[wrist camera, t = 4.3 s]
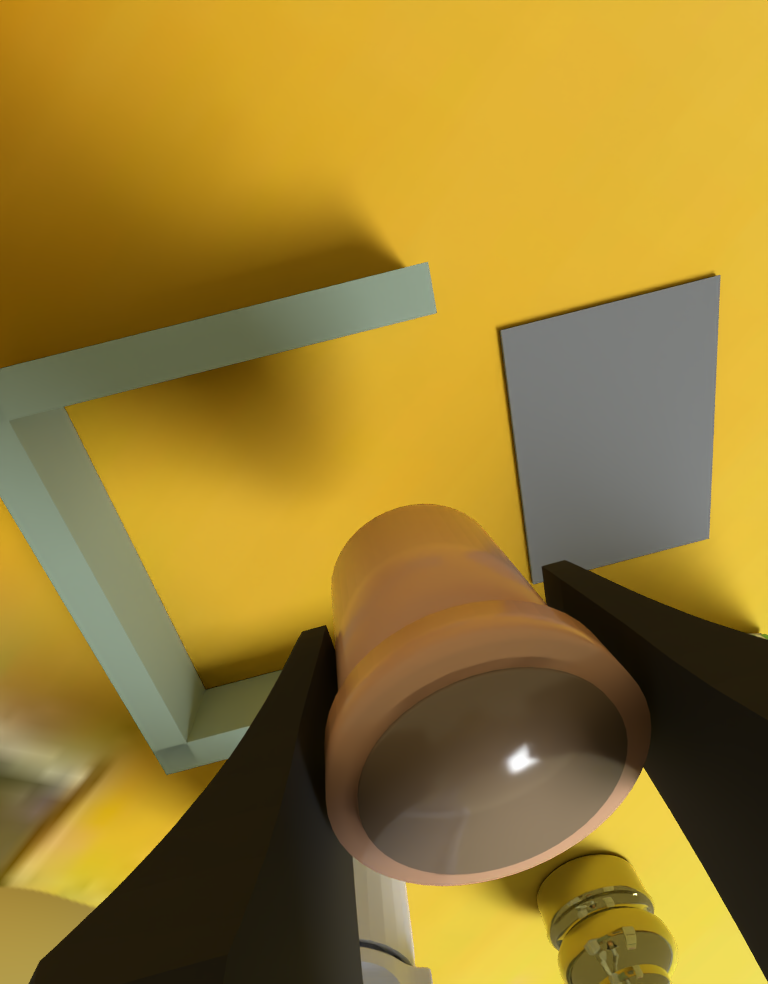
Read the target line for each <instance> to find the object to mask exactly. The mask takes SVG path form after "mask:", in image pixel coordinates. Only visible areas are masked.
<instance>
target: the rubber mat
mask: <svg viewBox="0 0 768 984" xmlns="http://www.w3.org/2000/svg"><path fill="white" fill-rule="evenodd" d="M719 295H720V275H718V276H713V277H710V278H706V279H702V280H698V281H694V282H690V283H686V284H682V285H678V286H674V287H670V288H666V289H662V290H658V291H654V292H650V293H646V294H642V295H638V296H634V297H630V298H626V299H622V300H618V301H614V302H611V303H607V304H603V305H599V306H595V307H591V308H587V309H583V310H579V311H575V312H571V313H567V314H563V315H559V316H555V317H551V318H547V319H543V320H539V321H535V322H531V323H527V324H523V325H519V326H515V327H512V328H508V329H504V330H500V338H501V346H502V353H503V361H504V369H505V377H506V384H507V392H508V400H509V408H510V416H511V423H512V431H513V439H514V447H515V454H516V462H517V470H518V478H519V486H520V493H521V501H522V509H523V517H524V525H525V532H526V540H527V548H528V556H529V563H530V571H531V579H532V583H533V584H537V583H541V582H543V574H542V566H544V565H548V564H552V563H555V562H559V561H563V560H566V561H569V562H571V563H573V564H576V565H578V566H580V567H582V568H584V569H586V570H590V569H594V568H598V567H602V566H606V565H609V564H613V563H617V562H621V561H625V560H629V559H632V558H636V557H640V556H644V555H648V554H651V553H655V552H659V551H663V550H667V549H670V548H674V547H678V546H682V545H686V544H690V543H693V542H697V541H701V540H705V539H709V528H710V505H711V481H712V458H713V435H714V411H715V388H716V365H717V341H718V318H719Z"/></svg>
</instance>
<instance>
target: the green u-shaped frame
mask: <svg viewBox="0 0 768 984" xmlns="http://www.w3.org/2000/svg"><path fill="white" fill-rule="evenodd" d="M435 313H437V311H436V305H435V300H434V294H433V288H432V283H431V277H430V271H429V265H428V262H426V263H422V264H417V265H413V266H409V267H405V268H401V269H397V270H393V271H389V272H385V273H381V274H377V275H373V276H369V277H365V278H361V279H357V280H353V281H349V282H345V283H341V284H337V285H333V286H329V287H325V288H321V289H317V290H313V291H309V292H305V293H301V294H297V295H293V296H289V297H285V298H281V299H277V300H273V301H269V302H265V303H261V304H257V305H253V306H249V307H245V308H241V309H237V310H233V311H229V312H225V313H221V314H217V315H213V316H209V317H205V318H201V319H197V320H193V321H189V322H185V323H181V324H177V325H173V326H169V327H165V328H161V329H157V330H153V331H149V332H145V333H141V334H137V335H133V336H129V337H125V338H121V339H117V340H113V341H109V342H105V343H101V344H97V345H93V346H89V347H85V348H81V349H77V350H73V351H69V352H65V353H61V354H57V355H52V356H48V357H44V358H40V359H36V360H32V361H28V362H24V363H20V364H16V365H12V366H8V367H4V368H0V497H1V499H2V500H3V502H4V504H5V505H6V507H7V509H8V510H9V512H10V514H11V515H12V517H13V519H14V520H15V522H16V524H17V525H18V527H19V529H20V530H21V532H22V534H23V535H24V537H25V539H26V540H27V542H28V544H29V545H30V547H31V549H32V550H33V552H34V554H35V555H36V557H37V559H38V560H39V562H40V564H41V566H42V567H43V569H44V571H45V572H46V574H47V576H48V577H49V579H50V581H51V582H52V584H53V586H54V587H55V589H56V591H57V592H58V594H59V596H60V597H61V599H62V601H63V602H64V604H65V606H66V607H67V609H68V611H69V612H70V614H71V616H72V617H73V619H74V621H75V622H76V624H77V626H78V627H79V629H80V631H81V632H82V634H83V636H84V637H85V639H86V641H87V642H88V644H89V646H90V647H91V649H92V651H93V652H94V654H95V656H96V657H97V659H98V661H99V662H100V664H101V666H102V667H103V669H104V671H105V672H106V674H107V676H108V678H109V679H110V681H111V683H112V684H113V686H114V688H115V689H116V691H117V693H118V694H119V696H120V698H121V699H122V701H123V703H124V704H125V706H126V708H127V709H128V711H129V713H130V714H131V716H132V718H133V719H134V721H135V723H136V724H137V726H138V728H139V729H140V731H141V733H142V734H143V736H144V738H145V739H146V741H147V743H148V744H149V746H150V748H151V749H152V751H153V753H154V754H155V756H156V758H157V759H158V761H159V763H160V764H161V766H162V768H163V769H164V771H165V773H166V774H167V775H169V774H172V773H176V772H180V771H184V770H187V769H191V768H195V767H199V766H202V765H206V764H210V763H214V762H218V761H221V760H225V759H228V758H229V757H230V755H231V754H232V753H233V751H234V750H235V748H236V747H237V745H238V744H239V742H240V741H241V739H242V738H243V736H244V735H245V733H246V731H247V730H248V728H249V727H250V725H251V723H252V722H253V720H254V718H255V717H256V715H257V714H258V712H259V710H260V709H261V707H262V706H263V704H264V702H265V700H266V699H267V697H268V695H269V693H270V691H271V690H272V688H273V686H274V684H275V682H276V681H277V679H278V677H279V675H280V673H281V671H282V670H279V671H276V672H272V673H268V674H264V675H260V676H257V677H253V678H249V679H245V680H241V681H238V682H234V683H230V684H226V685H222V686H219V687H215V688H211V689H207V690H205V688H204V686H203V684H202V682H201V680H200V678H199V676H198V674H197V672H196V670H195V668H194V666H193V664H192V662H191V660H190V658H189V656H188V654H187V652H186V650H185V648H184V646H183V644H182V642H181V640H180V638H179V636H178V634H177V632H176V630H175V628H174V626H173V624H172V622H171V620H170V618H169V616H168V614H167V612H166V610H165V608H164V606H163V604H162V602H161V600H160V598H159V596H158V594H157V592H156V590H155V588H154V586H153V584H152V582H151V580H150V578H149V576H148V574H147V572H146V570H145V568H144V566H143V564H142V562H141V560H140V558H139V556H138V554H137V552H136V550H135V548H134V546H133V544H132V542H131V540H130V538H129V536H128V534H127V532H126V530H125V528H124V526H123V524H122V522H121V520H120V518H119V516H118V514H117V512H116V510H115V508H114V506H113V504H112V502H111V500H110V498H109V496H108V494H107V492H106V490H105V488H104V486H103V484H102V482H101V480H100V478H99V476H98V474H97V472H96V470H95V468H94V466H93V464H92V462H91V460H90V458H89V456H88V454H87V452H86V450H85V448H84V446H83V444H82V442H81V440H80V438H79V436H78V434H77V432H76V430H75V428H74V426H73V424H72V422H71V420H70V418H69V416H68V414H67V412H66V410H65V408H64V407H65V406H69V405H73V404H77V403H81V402H85V401H89V400H93V399H97V398H101V397H105V396H108V395H112V394H116V393H120V392H124V391H128V390H132V389H136V388H140V387H144V386H148V385H152V384H156V383H160V382H164V381H168V380H172V379H176V378H180V377H184V376H188V375H192V374H196V373H200V372H204V371H208V370H212V369H216V368H220V367H224V366H228V365H232V364H236V363H240V362H244V361H248V360H252V359H256V358H260V357H264V356H268V355H272V354H276V353H280V352H284V351H288V350H292V349H296V348H299V347H303V346H307V345H311V344H315V343H319V342H323V341H327V340H331V339H335V338H339V337H343V336H347V335H351V334H355V333H359V332H363V331H367V330H371V329H375V328H379V327H383V326H387V325H391V324H395V323H399V322H403V321H407V320H411V319H415V318H419V317H423V316H427V315H431V314H435Z"/></svg>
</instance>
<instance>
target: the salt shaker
mask: <svg viewBox="0 0 768 984" xmlns="http://www.w3.org/2000/svg"><path fill="white" fill-rule="evenodd" d="M537 905H538V908H539V911H540V914H541V917H542V920H543V922H544V925H545V928H546V931H547V937H548V940H549V942H550V944H551V945H552V946H553V947H554V948H556V949H557V950H558V951H559V954H558V965H559V969H560V973H561V977H562V980H563V982H564V984H672V982H671V980H670V979H671V977H672V975H673V973H674V971H675V969H676V966H677V961H678V948H677V944H676V941H675V939H674V937H673V935H672V934H671V932H670V931H669V929H668V928H667V926H666V925H665V924H664V922H663V921H662V920H661V919H659V918H658V917H657V916H655V915H654V902H653V899H652V897H651V896H650V895H649V894H648V893H647V891H646V889H645V887H644V886H643V884H642V882H641V880H640V878H639V876H638V875H637V873H636V871H635V869H634V867H633V866H632V865H631V864H630V863H629V862H627V861H626V860H624V859H622V858H620V857H617V856H613V855H607V854H595V855H588V856H583V857H580V858H577V859H574V860H572V861H569V862H567V863H565V864H563V865H562V866H560V867H558V868H557V869H556V870H554V871H553V872H552V873H551V874H550V875H549V876H548V877H547V878H546V879H545V880H544V882H543V883H542V885H541V887H540V889H539V891H538V895H537Z"/></svg>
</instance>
